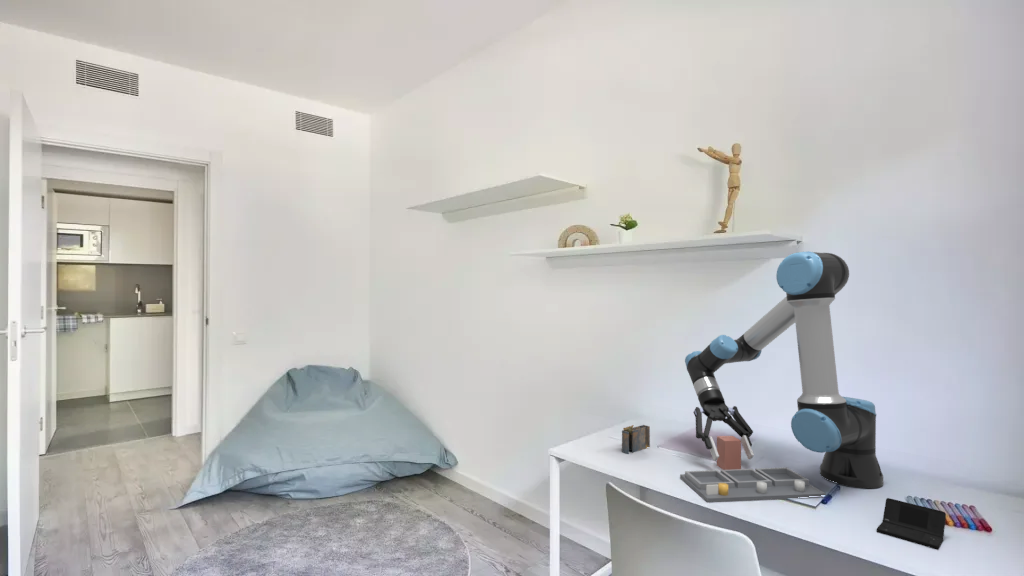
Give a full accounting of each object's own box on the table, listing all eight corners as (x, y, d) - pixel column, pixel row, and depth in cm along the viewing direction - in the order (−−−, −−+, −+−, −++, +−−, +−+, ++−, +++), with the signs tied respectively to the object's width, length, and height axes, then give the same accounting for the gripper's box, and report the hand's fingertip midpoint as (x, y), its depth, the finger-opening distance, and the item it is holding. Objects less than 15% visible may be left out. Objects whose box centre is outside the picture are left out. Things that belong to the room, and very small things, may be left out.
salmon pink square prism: (732, 464, 160) (732, 435, 160) (741, 470, 155) (740, 440, 155) (716, 465, 160) (716, 436, 160) (725, 471, 155) (724, 441, 155)
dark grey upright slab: (629, 455, 170) (629, 426, 170) (622, 453, 173) (622, 424, 173) (650, 449, 177) (650, 420, 177) (643, 446, 180) (643, 418, 180)
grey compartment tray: (785, 473, 152) (785, 462, 152) (825, 497, 135) (825, 484, 135) (680, 477, 149) (680, 466, 149) (707, 502, 132) (707, 489, 132)
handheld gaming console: (876, 528, 114) (884, 486, 118) (875, 538, 119) (883, 497, 123) (943, 552, 107) (950, 506, 111) (939, 561, 112) (945, 517, 116)
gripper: (738, 399, 173) (765, 462, 158) (672, 401, 172) (693, 465, 156) (746, 387, 168) (775, 450, 153) (678, 388, 166) (701, 453, 151)
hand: (733, 457), depth 154 cm, fingers open, 10 cm apart
